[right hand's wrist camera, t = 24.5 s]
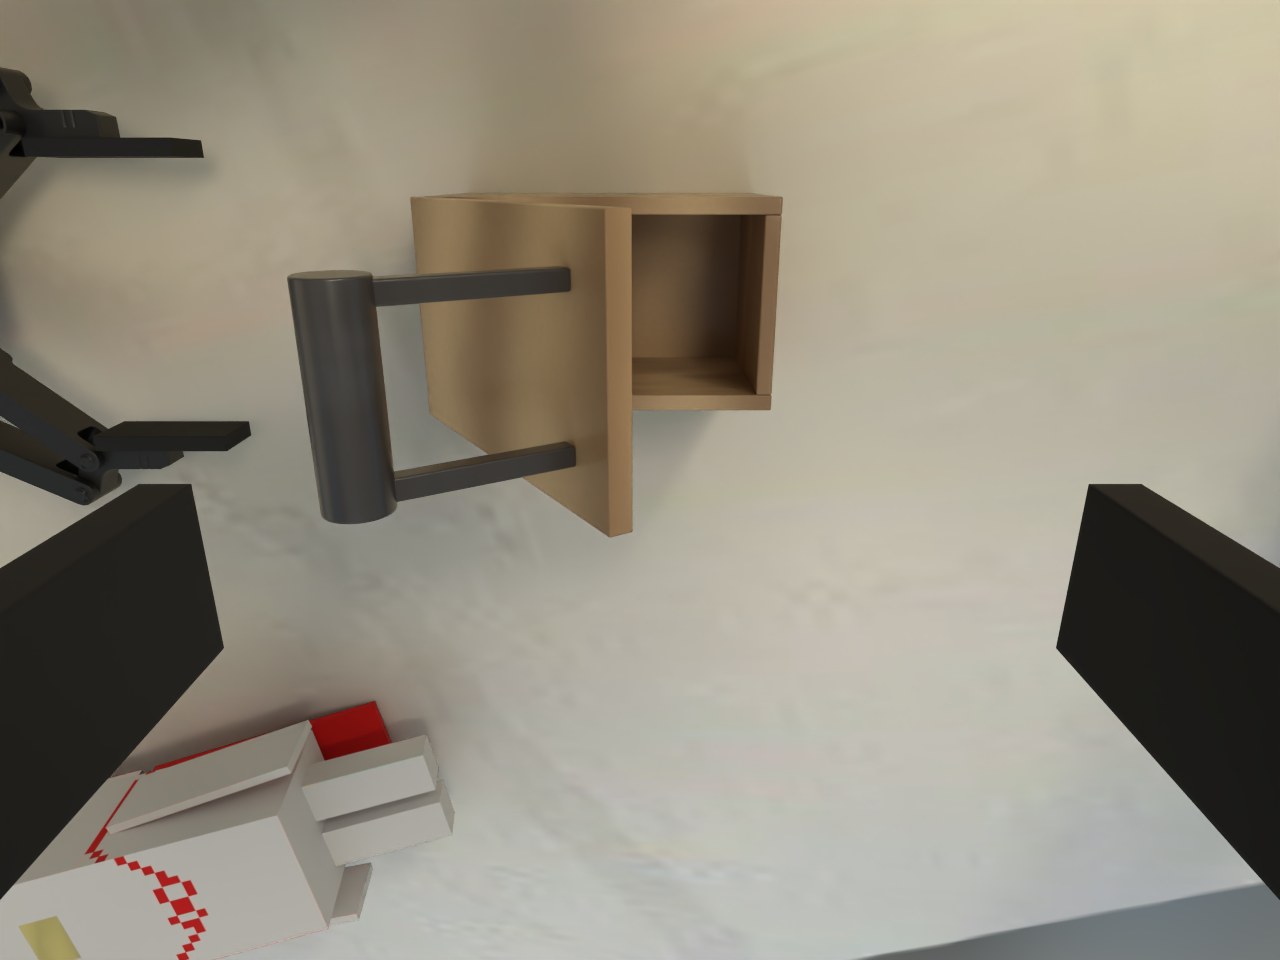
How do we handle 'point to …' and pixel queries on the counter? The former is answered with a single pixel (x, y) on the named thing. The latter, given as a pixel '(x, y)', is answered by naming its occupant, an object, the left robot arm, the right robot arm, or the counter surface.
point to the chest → (695, 294)
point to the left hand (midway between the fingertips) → (215, 300)
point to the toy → (229, 846)
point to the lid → (482, 359)
